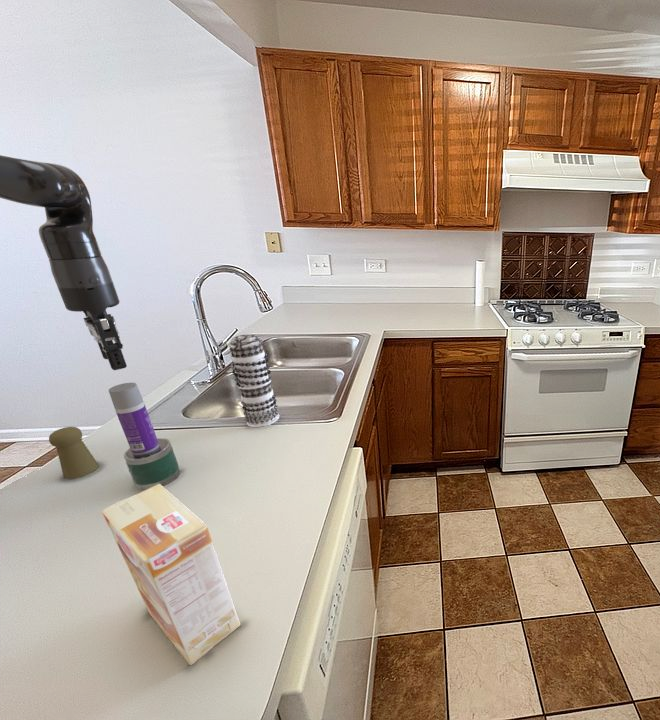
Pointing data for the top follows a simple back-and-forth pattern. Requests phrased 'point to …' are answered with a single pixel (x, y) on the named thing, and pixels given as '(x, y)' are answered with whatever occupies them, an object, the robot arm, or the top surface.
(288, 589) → the top surface
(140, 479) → the tin can
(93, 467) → the cork
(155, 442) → the container
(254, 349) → the decorative candle
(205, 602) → the coffeecake box
